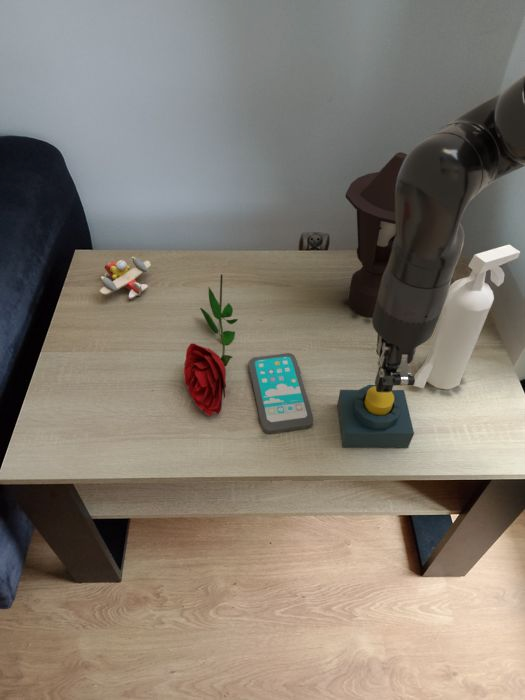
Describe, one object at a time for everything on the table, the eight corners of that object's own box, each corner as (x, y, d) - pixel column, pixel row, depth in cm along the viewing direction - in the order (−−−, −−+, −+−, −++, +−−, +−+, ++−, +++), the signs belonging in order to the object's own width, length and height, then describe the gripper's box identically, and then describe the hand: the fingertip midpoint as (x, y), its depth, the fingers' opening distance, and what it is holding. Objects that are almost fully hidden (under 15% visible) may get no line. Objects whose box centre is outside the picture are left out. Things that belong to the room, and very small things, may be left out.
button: (389, 393, 77) (391, 385, 75) (393, 416, 74) (396, 407, 73) (362, 393, 77) (364, 385, 75) (366, 415, 74) (368, 407, 73)
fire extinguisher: (394, 374, 87) (432, 256, 68) (450, 351, 90) (501, 233, 72) (419, 403, 83) (467, 286, 64) (477, 378, 86) (538, 260, 68)
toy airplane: (108, 274, 103) (100, 248, 98) (153, 273, 104) (148, 247, 99) (101, 305, 97) (93, 279, 92) (149, 303, 98) (143, 277, 93)
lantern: (418, 326, 94) (468, 177, 72) (340, 334, 93) (367, 184, 70) (393, 275, 104) (431, 129, 82) (322, 281, 103) (341, 135, 80)
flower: (203, 248, 91) (194, 390, 73) (250, 265, 94) (252, 405, 76) (184, 280, 97) (171, 418, 79) (229, 295, 101) (226, 431, 83)
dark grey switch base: (398, 404, 82) (407, 381, 78) (408, 448, 77) (417, 426, 73) (337, 404, 82) (341, 381, 78) (342, 447, 77) (347, 425, 72)
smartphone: (262, 431, 77) (246, 357, 87) (262, 434, 78) (246, 361, 88) (316, 423, 78) (295, 351, 88) (316, 426, 79) (294, 355, 89)
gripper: (456, 339, 55) (418, 427, 68) (430, 262, 64) (400, 353, 77) (387, 339, 55) (362, 427, 68) (370, 261, 64) (350, 352, 77)
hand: (382, 387), depth 73 cm, fingers closed
